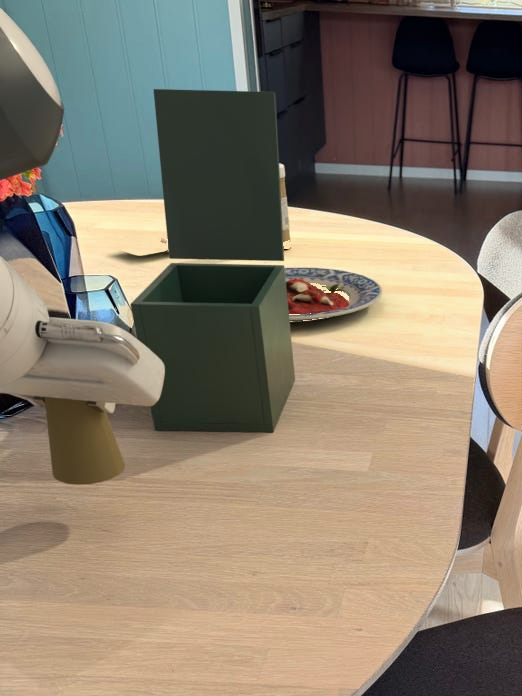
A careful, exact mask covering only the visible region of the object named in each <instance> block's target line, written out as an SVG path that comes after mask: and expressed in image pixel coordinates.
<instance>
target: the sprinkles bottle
mask: <svg viewBox="0 0 522 696" xmlns="http://www.w3.org/2000/svg"><path fill="white" fill-rule="evenodd" d="M285 169H286V168H285V165H284V164H282V163H281V162H279V171H280V189H281V208H282V227H283V242H285V241H288V240H290V241H291V234H290V228H291V227H290V217H289V207H288V197H287V189H286V182H285V180H286V178H285V177H286V170H285Z"/></svg>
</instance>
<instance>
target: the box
mask: <svg viewBox="0 0 522 696" xmlns="http://www.w3.org/2000/svg"><path fill="white" fill-rule="evenodd" d="M284 268H285V265H283V264H243V263H242V264H241V263H239V264H236V263H195V262H194V263H192V262H191V263H190V262H189V263H188V262H170V263H169V264H168V265H167V266H166V268H164V270H162V271H161V273H159V274H158V276H157V277H156V278H154V279H153V280H152V281H151V282H150V283H149V285H148V286H146V288H144V290H142V292H141V293H140V294H139V295H138V296H137V297H136V298H135V299H134V300H132V302H130V304H129V305H130V310H131V314H132V320H133V325H134V330H135V336H136V339H138V340H139V341H140V342H142V343H143V344H144V345H145V346H146V347H148V348H149V349H150V350H151V351H152V352H153V353H154V354H155V355H157V356H158V357H159V358H160V359H161V361H162V362H163V363H164V366H165V375H164V382H163V387H162V392H161V395H160V398H159V400H158V401H157V402H156V404H154V405H153V406H149V407H150V412H151V417H152V423H153V427H154V431H172V432H173V431H175V432H176V431H177V432H178V431H179V432H180V431H182V432H183V431H184V432H237V433H238V432H242V433H243V432H244V433H246V432H248V433H249V432H250V433H274V432H275V429H276V427H277V424H278V422H279V420H280V418H281V415H282V412H283V410H284V408H285V405H286V403H287V400H288V398H289V396H290V393H291V391H292V389H293V386H294V383H295V381H296V373H295V362H294V353H293V342H292V333H291V332H292V331H291V322H290V321H289V310H288V300H287V290H286V280H285V269H284Z"/></svg>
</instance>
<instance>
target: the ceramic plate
mask: <svg viewBox="0 0 522 696" xmlns="http://www.w3.org/2000/svg"><path fill="white" fill-rule="evenodd" d="M284 269H285V280H286V290H287V300H288V310H289V314H300V315H289V321H303V320H312V319H319V318H327V317H332V316H335V317H338V316H342V315H347V314H351V313H356V312H357V311H358V312H359V311H361V310H363V309H366V308H368V307H370V306H372V305H374V304H375V303H377V302H378V301H379V300H380V299H381V297H382V295H383V288H382V286H381V285H380V284H379V283H378V282H377V281H375V280H374V279H372V278H370V277H368V276H365V275H363V274H360V273H356V272H352V271H348V270H347V271H346V270H342V269H333V268H321V267H284ZM310 283H316V284H317V283H318V284H320V285H326V286H322V287H326V288H327V289H328V290H329V291H331V293H324V291H326V290H323V291H322V290H321V289H318V288H317V287H316V286H313V285H311V284H310ZM337 288H338V289H337ZM336 289H337V290H336ZM335 291H341V292H342V291H343V292H344V293H346V294H347V295H348V296H349V301H348V300H346V299H345V298H344V297H343V296H341V295H340V294H338V293H334V292H335ZM310 313H311V314H310ZM332 318H333V317H332Z"/></svg>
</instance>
